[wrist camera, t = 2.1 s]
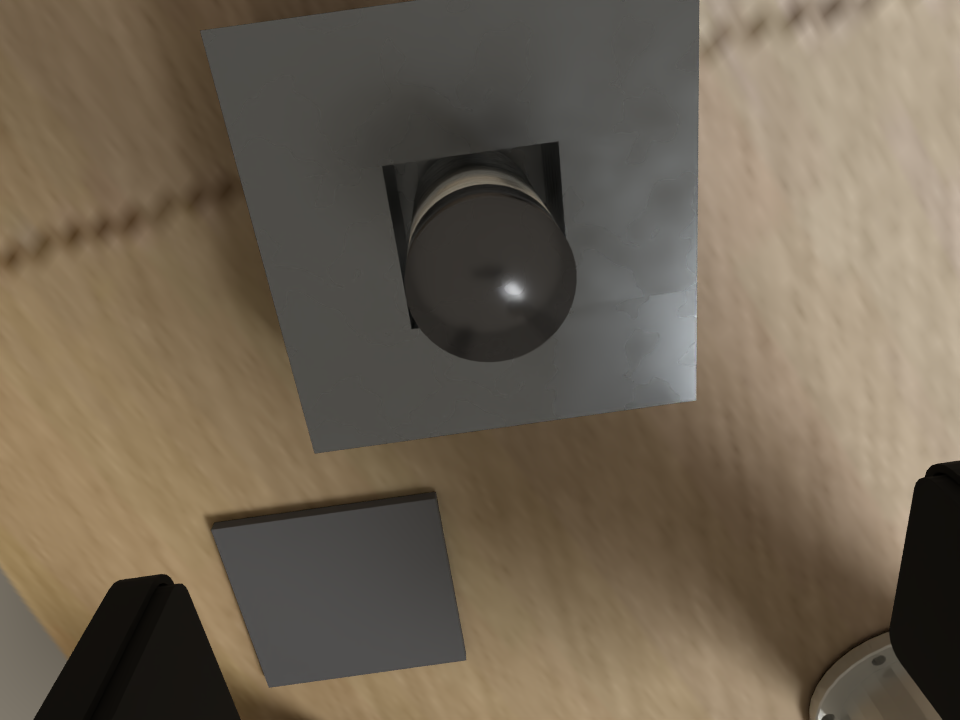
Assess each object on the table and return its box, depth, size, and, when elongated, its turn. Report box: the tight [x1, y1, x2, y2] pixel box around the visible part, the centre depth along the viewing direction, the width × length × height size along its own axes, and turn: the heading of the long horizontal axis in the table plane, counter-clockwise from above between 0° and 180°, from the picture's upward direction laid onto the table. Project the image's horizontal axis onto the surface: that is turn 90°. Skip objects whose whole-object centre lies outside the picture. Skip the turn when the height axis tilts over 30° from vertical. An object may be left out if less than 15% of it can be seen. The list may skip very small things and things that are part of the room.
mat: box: [211, 492, 466, 688], centre depth 40 cm, size 12×12×1 cm
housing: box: [200, 0, 699, 453], centre depth 28 cm, size 16×16×6 cm
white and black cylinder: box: [404, 150, 577, 362], centre depth 25 cm, size 5×5×10 cm
